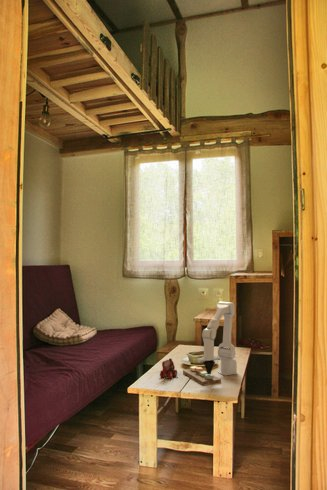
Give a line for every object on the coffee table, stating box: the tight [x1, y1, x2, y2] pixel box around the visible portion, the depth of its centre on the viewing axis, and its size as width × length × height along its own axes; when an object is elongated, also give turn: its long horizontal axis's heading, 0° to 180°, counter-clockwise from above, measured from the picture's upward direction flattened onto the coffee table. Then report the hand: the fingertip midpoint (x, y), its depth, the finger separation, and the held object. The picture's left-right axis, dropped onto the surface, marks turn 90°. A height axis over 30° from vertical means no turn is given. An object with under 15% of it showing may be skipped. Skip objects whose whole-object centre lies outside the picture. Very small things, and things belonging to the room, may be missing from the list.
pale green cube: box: [199, 370, 207, 377], centre depth 234 cm, size 4×4×4 cm
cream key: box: [189, 365, 197, 372], centre depth 245 cm, size 4×4×4 cm
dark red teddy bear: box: [159, 357, 178, 380], centre depth 238 cm, size 7×12×10 cm, turn 147°
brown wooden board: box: [182, 368, 222, 386], centre depth 236 cm, size 12×25×2 cm, turn 23°
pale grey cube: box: [204, 373, 214, 380], centre depth 228 cm, size 4×4×4 cm
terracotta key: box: [195, 366, 204, 374], centre depth 239 cm, size 4×4×4 cm
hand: (208, 373), depth 228 cm, fingers closed
